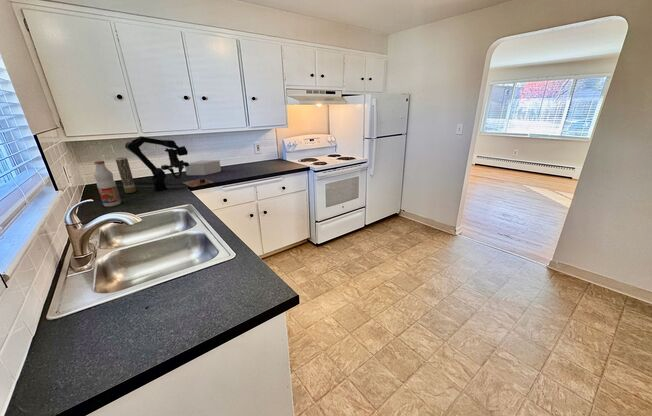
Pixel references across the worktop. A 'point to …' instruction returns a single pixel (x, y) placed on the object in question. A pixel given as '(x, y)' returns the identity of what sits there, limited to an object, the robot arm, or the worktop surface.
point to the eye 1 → (177, 176)
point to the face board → (197, 183)
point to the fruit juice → (106, 185)
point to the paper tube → (126, 175)
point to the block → (203, 167)
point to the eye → (202, 180)
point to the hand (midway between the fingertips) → (177, 176)
